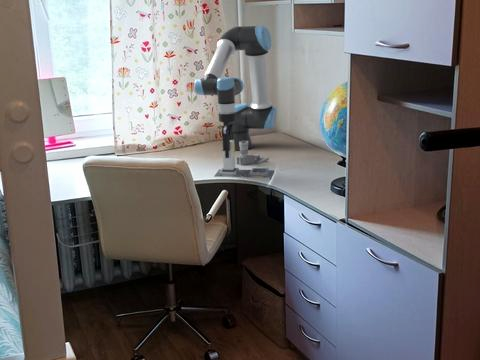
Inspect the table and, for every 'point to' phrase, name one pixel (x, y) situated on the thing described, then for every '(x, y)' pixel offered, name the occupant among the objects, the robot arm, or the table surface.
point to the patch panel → (245, 173)
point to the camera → (248, 155)
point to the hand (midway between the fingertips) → (229, 162)
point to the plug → (232, 149)
